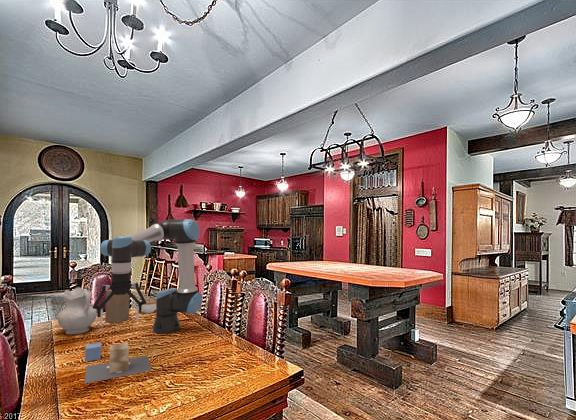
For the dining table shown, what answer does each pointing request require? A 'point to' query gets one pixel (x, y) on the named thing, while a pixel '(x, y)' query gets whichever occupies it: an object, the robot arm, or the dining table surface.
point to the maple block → (119, 357)
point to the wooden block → (117, 308)
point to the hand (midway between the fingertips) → (119, 323)
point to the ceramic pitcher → (77, 312)
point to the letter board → (102, 372)
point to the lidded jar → (149, 306)
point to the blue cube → (93, 352)
